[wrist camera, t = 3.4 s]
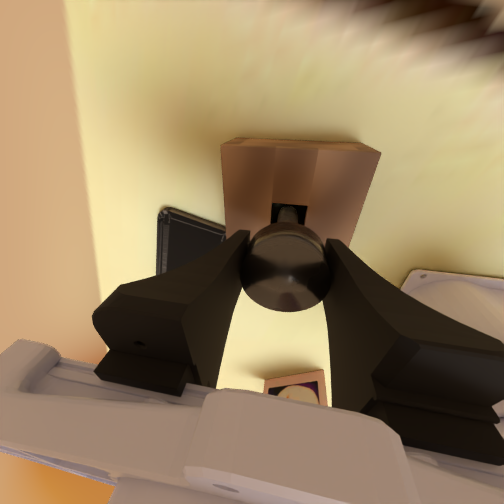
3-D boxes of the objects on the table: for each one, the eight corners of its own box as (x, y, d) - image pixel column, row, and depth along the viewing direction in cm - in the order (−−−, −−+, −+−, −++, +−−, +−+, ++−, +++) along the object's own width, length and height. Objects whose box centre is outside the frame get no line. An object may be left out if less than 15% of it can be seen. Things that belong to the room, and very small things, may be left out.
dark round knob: (321, 189, 14) (342, 250, 8) (310, 241, 16) (320, 317, 10) (262, 185, 14) (239, 239, 8) (259, 235, 16) (240, 305, 10)
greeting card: (320, 366, 31) (337, 529, 19) (342, 389, 34) (369, 543, 22) (261, 377, 37) (245, 510, 25) (284, 396, 39) (280, 523, 27)
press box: (361, 142, 14) (381, 152, 11) (330, 249, 19) (337, 277, 16) (236, 137, 15) (220, 145, 12) (238, 239, 21) (228, 263, 17)
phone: (235, 234, 20) (208, 321, 28) (238, 229, 20) (211, 315, 29) (156, 206, 19) (154, 303, 28) (162, 202, 20) (158, 297, 29)
